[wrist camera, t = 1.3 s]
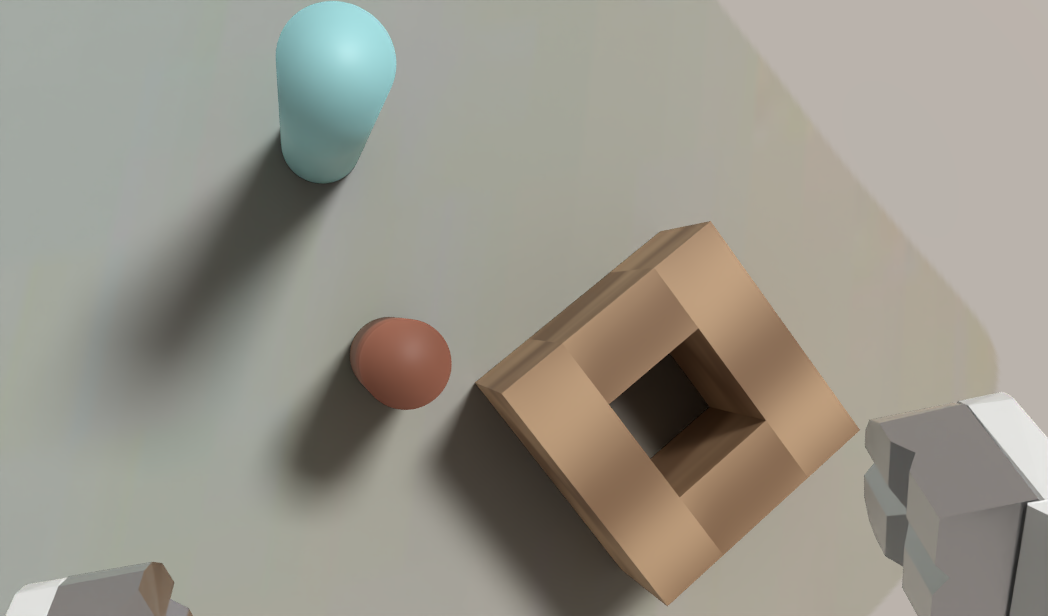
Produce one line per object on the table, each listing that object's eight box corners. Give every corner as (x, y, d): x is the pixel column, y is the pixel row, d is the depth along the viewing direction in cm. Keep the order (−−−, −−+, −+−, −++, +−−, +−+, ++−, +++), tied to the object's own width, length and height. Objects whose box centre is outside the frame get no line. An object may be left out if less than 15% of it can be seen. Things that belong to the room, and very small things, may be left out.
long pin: (264, 135, 37) (250, 45, 24) (327, 90, 37) (347, -22, 24) (314, 199, 37) (326, 143, 24) (376, 153, 38) (419, 75, 25)
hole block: (474, 382, 38) (501, 393, 34) (660, 231, 40) (710, 221, 35) (621, 569, 40) (667, 606, 35) (793, 415, 42) (859, 429, 37)
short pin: (333, 349, 37) (341, 357, 31) (395, 301, 38) (414, 300, 32) (382, 409, 38) (398, 428, 32) (441, 361, 38) (469, 371, 32)
